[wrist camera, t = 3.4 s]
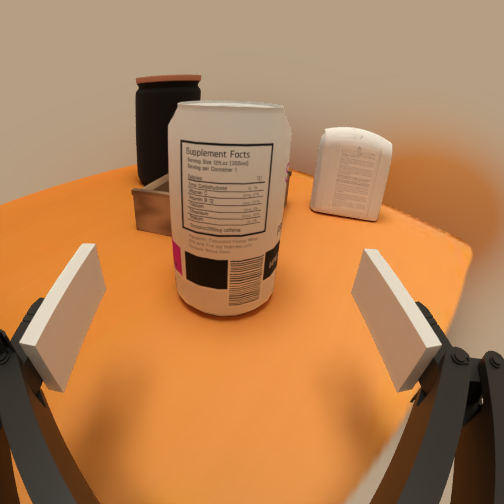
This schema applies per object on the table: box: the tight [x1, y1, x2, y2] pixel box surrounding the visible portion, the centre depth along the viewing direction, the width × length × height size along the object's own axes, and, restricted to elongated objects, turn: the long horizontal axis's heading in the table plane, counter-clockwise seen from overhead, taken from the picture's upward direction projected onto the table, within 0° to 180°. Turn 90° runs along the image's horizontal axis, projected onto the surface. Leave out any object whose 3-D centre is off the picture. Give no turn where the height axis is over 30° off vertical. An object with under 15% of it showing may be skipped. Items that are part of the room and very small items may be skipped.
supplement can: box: [168, 100, 292, 316], centre depth 22 cm, size 8×8×15 cm
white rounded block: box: [310, 127, 392, 221], centre depth 39 cm, size 10×4×12 cm, turn 81°
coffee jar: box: [136, 75, 201, 185], centre depth 46 cm, size 11×11×18 cm
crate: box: [131, 171, 292, 236], centre depth 37 cm, size 15×15×5 cm
